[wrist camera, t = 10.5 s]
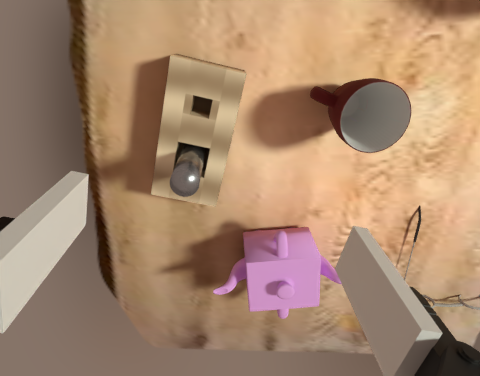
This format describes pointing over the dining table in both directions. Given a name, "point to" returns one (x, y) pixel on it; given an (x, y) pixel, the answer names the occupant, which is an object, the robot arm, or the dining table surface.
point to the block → (197, 123)
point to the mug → (367, 113)
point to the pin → (188, 170)
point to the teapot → (280, 270)
